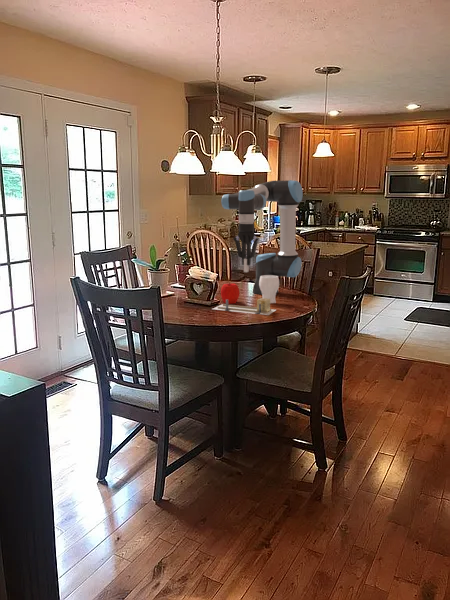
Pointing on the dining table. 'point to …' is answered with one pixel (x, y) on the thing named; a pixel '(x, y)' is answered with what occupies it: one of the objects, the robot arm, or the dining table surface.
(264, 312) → the board
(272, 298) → the cup
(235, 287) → the apple
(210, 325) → the dining table surface
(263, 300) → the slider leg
